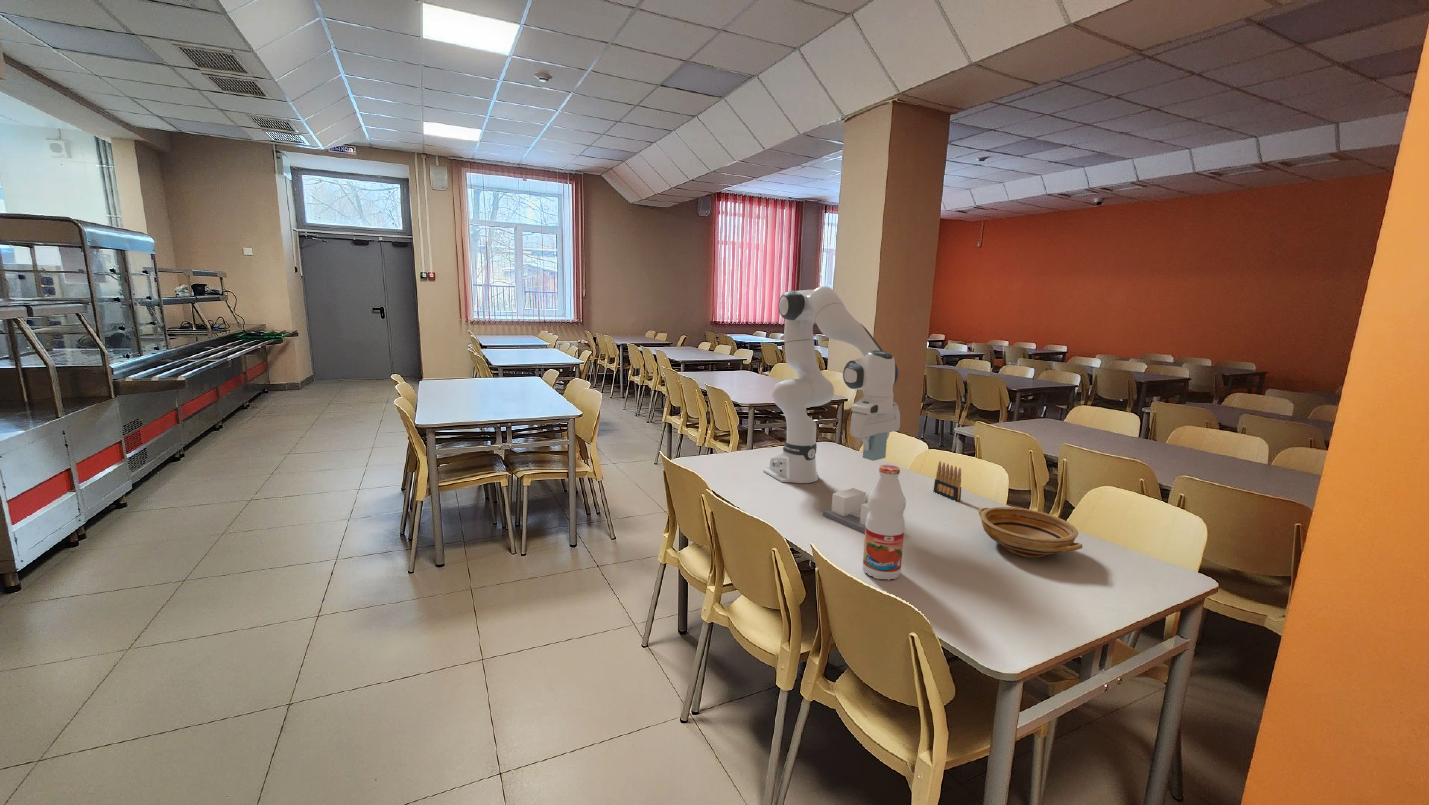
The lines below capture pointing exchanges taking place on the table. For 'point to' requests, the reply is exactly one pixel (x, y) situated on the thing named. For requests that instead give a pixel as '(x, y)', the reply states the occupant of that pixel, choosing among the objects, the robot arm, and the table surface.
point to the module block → (876, 447)
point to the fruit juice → (885, 526)
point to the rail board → (849, 509)
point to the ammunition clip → (948, 482)
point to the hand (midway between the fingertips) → (874, 448)
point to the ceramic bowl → (1029, 531)
